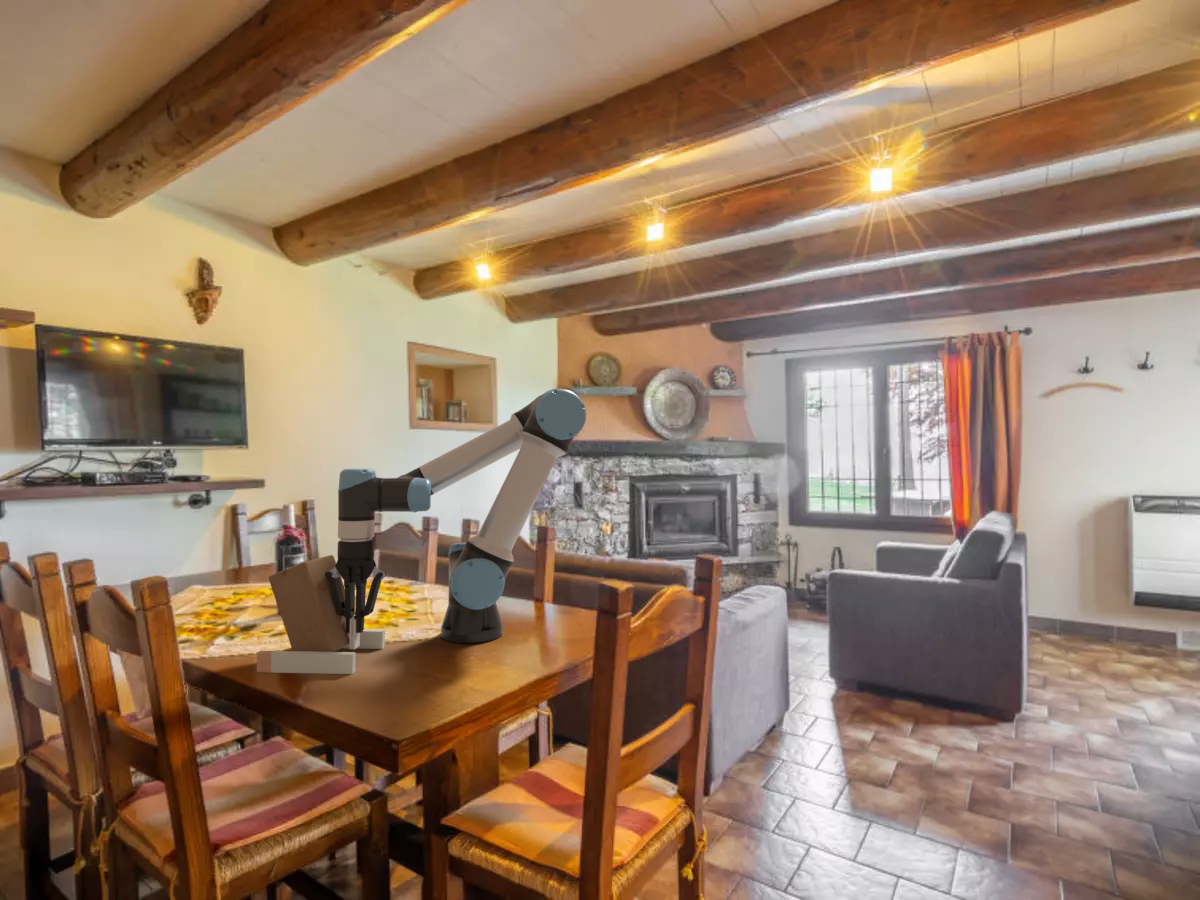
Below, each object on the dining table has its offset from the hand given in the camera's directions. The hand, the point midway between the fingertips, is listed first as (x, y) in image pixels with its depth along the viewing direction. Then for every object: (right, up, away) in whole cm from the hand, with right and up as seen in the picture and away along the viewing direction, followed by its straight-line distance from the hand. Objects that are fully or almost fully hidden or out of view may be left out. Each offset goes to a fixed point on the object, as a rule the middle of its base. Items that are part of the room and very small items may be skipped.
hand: (354, 647), depth 140 cm
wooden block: (-5, -1, 0) cm, 6 cm away
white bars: (-7, -3, +1) cm, 8 cm away
